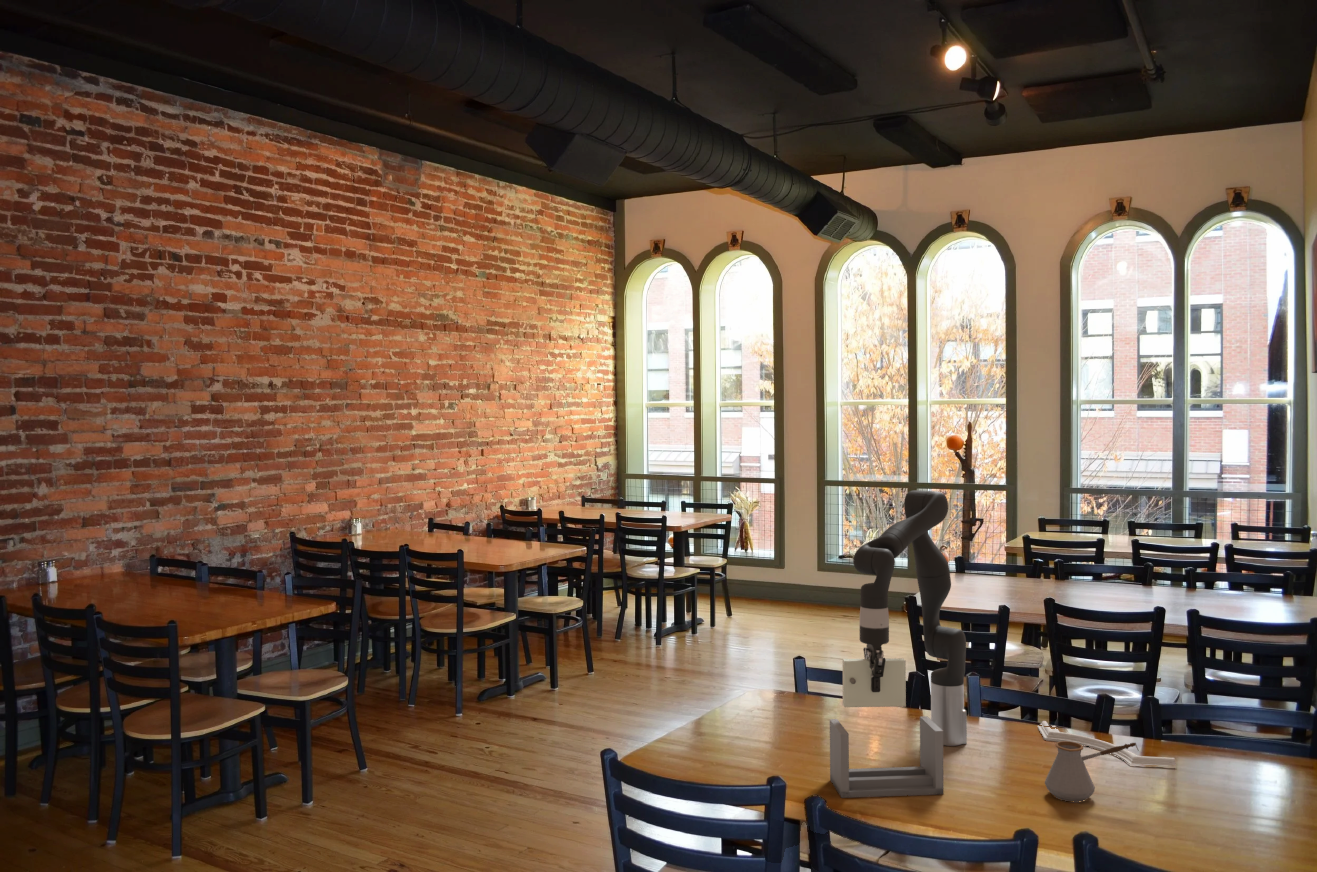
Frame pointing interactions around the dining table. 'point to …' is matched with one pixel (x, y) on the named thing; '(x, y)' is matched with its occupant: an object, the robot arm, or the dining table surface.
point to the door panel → (860, 684)
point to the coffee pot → (1073, 772)
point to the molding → (1101, 746)
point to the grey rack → (888, 779)
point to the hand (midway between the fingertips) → (874, 689)
